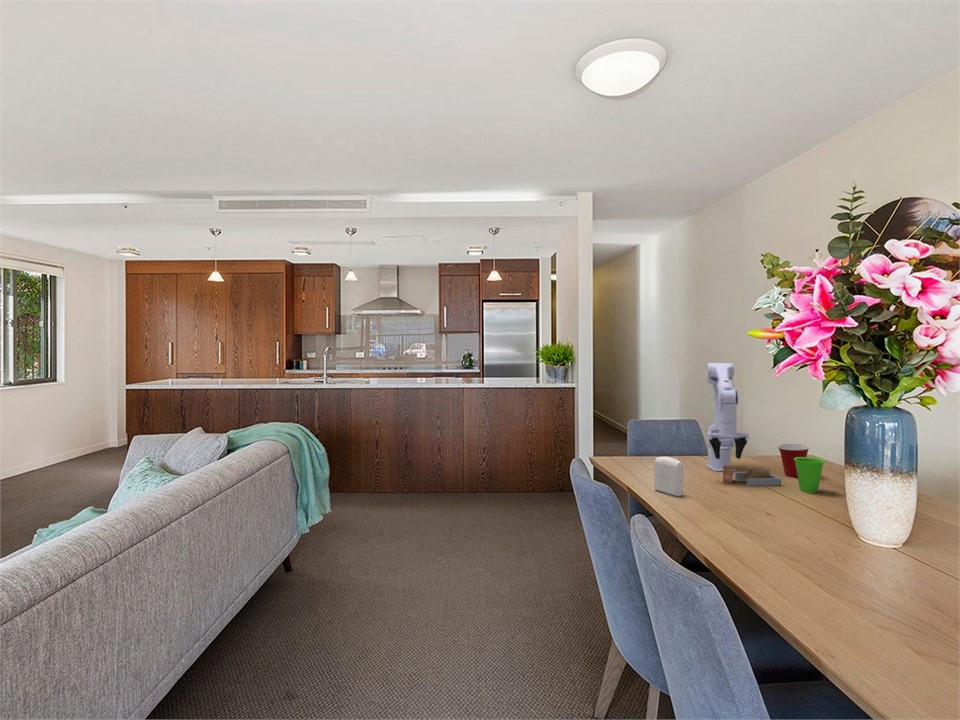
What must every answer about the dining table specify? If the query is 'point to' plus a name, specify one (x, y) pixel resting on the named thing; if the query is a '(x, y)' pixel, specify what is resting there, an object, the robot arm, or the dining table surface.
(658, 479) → the photo printer
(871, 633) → the dining table surface
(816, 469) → the cup
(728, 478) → the tethered block
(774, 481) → the grey u-shaped bracket
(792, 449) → the plastic cup
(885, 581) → the dining table surface
